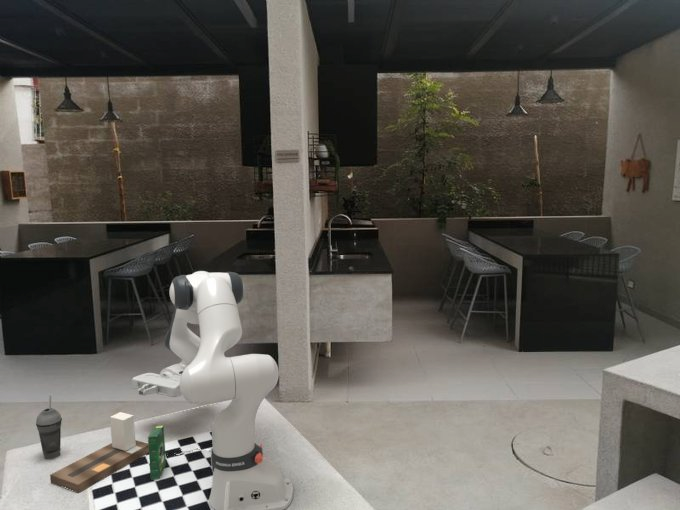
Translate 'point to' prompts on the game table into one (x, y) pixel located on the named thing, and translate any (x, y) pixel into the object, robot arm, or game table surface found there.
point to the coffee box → (157, 452)
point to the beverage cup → (49, 431)
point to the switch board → (97, 466)
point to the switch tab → (122, 431)
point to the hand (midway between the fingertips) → (141, 392)
